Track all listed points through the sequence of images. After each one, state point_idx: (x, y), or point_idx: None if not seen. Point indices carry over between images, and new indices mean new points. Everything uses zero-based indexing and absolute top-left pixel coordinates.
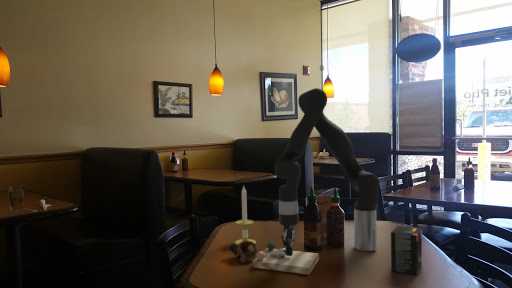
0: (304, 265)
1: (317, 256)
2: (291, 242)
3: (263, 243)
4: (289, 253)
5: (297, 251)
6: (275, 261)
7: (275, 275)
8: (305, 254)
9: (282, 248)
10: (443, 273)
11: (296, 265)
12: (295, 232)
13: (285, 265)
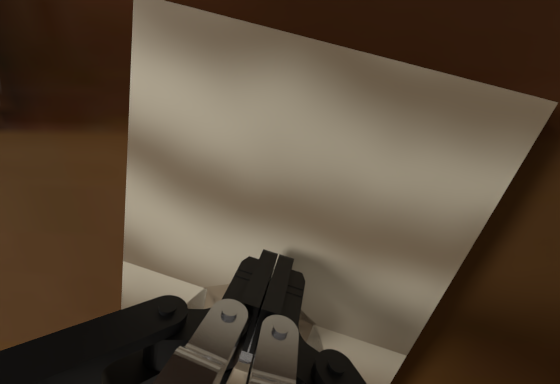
0: (480, 145)
1: (190, 8)
2: (277, 364)
3: (3, 342)
4: (303, 289)
5: (131, 194)
6: (361, 349)
7: (491, 323)
8: (186, 130)
9: (247, 355)
10: None
11: (468, 216)
12: (8, 372)
13: (442, 292)
